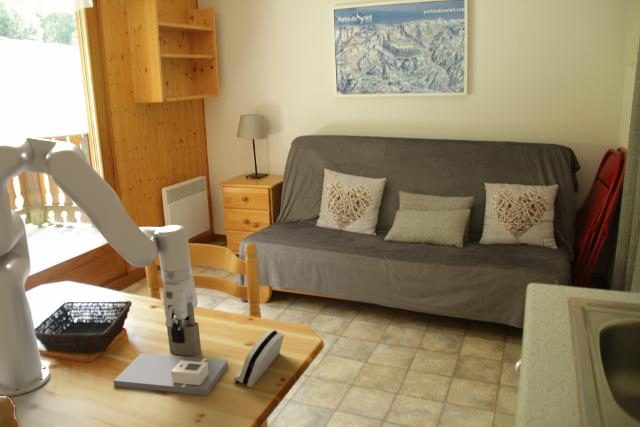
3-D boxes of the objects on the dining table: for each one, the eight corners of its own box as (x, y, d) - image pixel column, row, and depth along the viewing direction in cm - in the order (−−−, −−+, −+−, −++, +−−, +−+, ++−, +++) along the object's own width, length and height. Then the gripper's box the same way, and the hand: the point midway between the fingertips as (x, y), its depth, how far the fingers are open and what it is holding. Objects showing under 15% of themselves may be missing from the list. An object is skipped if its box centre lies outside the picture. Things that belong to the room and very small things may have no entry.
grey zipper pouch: (262, 349, 147) (271, 319, 143) (278, 357, 146) (287, 326, 142) (232, 384, 132) (241, 350, 128) (249, 393, 131) (259, 359, 127)
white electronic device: (172, 382, 130) (171, 369, 129) (182, 371, 135) (180, 358, 134) (200, 385, 129) (198, 372, 128) (208, 373, 133) (207, 361, 132)
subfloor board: (114, 386, 133) (113, 380, 132) (142, 358, 145) (141, 352, 145) (207, 395, 128) (206, 389, 127) (227, 365, 140) (227, 359, 140)
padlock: (176, 345, 151) (170, 295, 147) (202, 349, 148) (197, 298, 144) (168, 353, 147) (161, 301, 143) (195, 357, 145) (189, 304, 140)
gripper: (174, 287, 133) (182, 354, 138) (203, 262, 149) (210, 323, 154) (146, 285, 134) (155, 352, 139) (178, 260, 150) (185, 321, 155)
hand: (183, 336), depth 146 cm, fingers open, 5 cm apart
